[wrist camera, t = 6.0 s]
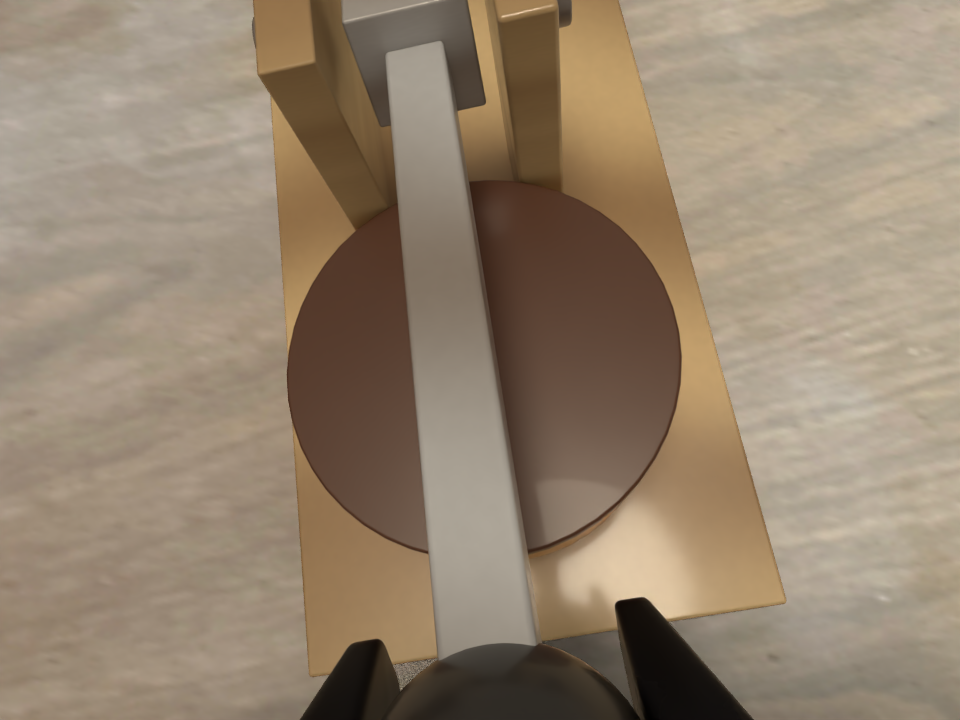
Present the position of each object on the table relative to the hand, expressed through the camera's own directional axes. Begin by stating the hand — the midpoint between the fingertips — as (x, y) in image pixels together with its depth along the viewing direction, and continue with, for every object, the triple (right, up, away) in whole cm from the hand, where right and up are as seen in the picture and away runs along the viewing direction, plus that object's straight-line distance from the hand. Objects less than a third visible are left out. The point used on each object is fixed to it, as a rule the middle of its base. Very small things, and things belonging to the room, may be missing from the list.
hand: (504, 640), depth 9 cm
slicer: (0, +8, +13) cm, 15 cm away
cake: (0, +2, +10) cm, 10 cm away
